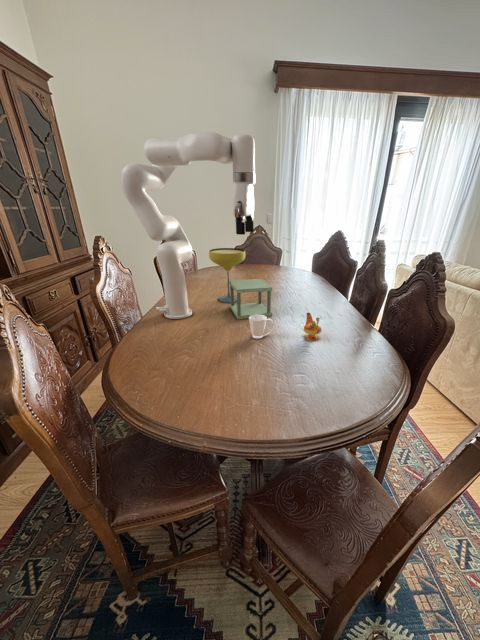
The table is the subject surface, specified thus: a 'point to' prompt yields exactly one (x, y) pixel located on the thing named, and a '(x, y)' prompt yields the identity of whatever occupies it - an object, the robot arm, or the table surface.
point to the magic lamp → (312, 328)
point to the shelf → (250, 308)
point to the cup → (258, 325)
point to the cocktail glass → (227, 263)
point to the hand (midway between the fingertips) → (245, 233)
